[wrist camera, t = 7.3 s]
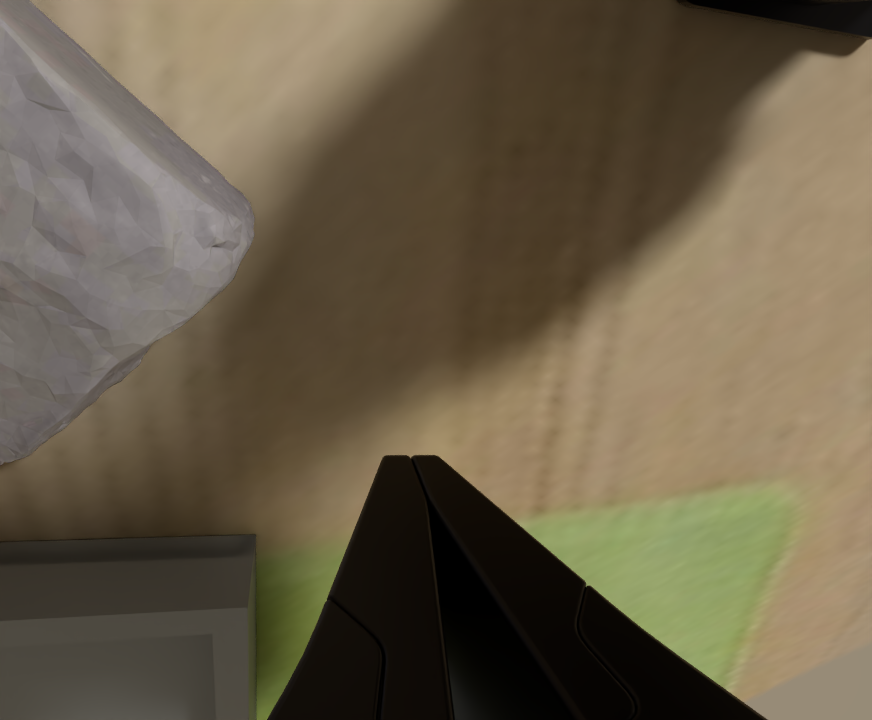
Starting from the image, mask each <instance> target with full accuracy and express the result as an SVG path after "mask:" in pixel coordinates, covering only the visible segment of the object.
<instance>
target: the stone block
mask: <svg viewBox="0 0 872 720" xmlns="http://www.w3.org/2000/svg"><path fill="white" fill-rule="evenodd" d="M254 220H255V217H254V214H253V211H252V208H251V205H250V202H249V201H248V200H247V199H246V198H245V196H244V195H243V194H242V193H241V192H240V191H239V190H237V189H236V188H235V187H234V186H232V185H231V184H230V183H229V182H228V181H227V180H226V179H225V178H224V177H223V176H222V175H221V174H220V173H219V172H218V171H217V170H216V169H215V168H214V167H213V166H212V165H211V164H209V163H208V162H207V161H206V160H205V159H204V158H203V157H202V156H200V155H199V154H198V153H197V152H196V151H195V150H194V149H192V148H191V147H190V146H189V145H188V144H186V143H185V142H184V141H183V140H182V139H181V138H180V137H178V136H177V135H176V134H175V133H174V132H173V131H172V130H171V129H170V128H169V127H168V126H167V125H166V124H165V123H164V122H163V121H162V120H161V119H160V118H159V117H157V116H156V115H155V114H154V113H153V112H152V111H151V110H149V109H148V108H147V107H146V106H145V105H144V104H143V103H142V102H140V101H139V100H138V99H137V98H136V97H135V96H134V95H132V94H131V93H130V92H129V91H128V90H127V89H126V88H125V87H123V86H122V85H121V84H120V83H119V82H118V81H117V80H116V79H115V78H114V77H112V76H111V75H110V74H109V73H108V72H107V71H106V70H105V69H104V68H103V67H102V66H101V65H100V64H99V63H98V62H96V61H95V60H94V59H93V58H92V57H91V56H90V55H89V54H88V53H87V52H86V51H85V50H84V49H83V48H82V47H80V46H79V45H78V44H77V43H76V42H75V41H74V40H73V39H71V38H70V37H69V36H68V35H67V34H66V33H65V32H63V31H62V30H61V29H60V28H59V27H58V26H57V25H56V24H55V23H53V22H52V21H51V20H50V19H49V18H48V17H47V16H46V15H45V14H44V13H42V12H41V11H40V10H39V9H38V8H37V7H36V6H35V5H34V4H33V3H32V2H31V1H29V0H0V465H3V463H4V462H7V463H10V462H12V461H15V460H18V459H22V458H24V457H27V456H29V455H30V454H31V453H33V452H34V451H35V450H36V449H37V448H38V447H39V446H40V445H41V444H43V443H45V442H46V441H47V440H48V439H50V438H51V437H52V436H54V435H55V434H56V433H58V432H60V431H62V430H63V429H64V428H65V427H67V426H68V425H69V424H70V423H71V422H72V421H73V420H74V419H75V418H76V417H77V416H78V415H79V414H80V413H81V412H82V411H83V410H84V409H85V408H87V407H88V406H90V405H91V404H93V403H94V402H95V401H96V400H97V399H98V398H99V396H100V395H101V394H102V393H103V392H104V391H105V390H106V389H108V388H109V387H111V386H112V385H114V384H116V383H118V382H120V381H122V380H123V379H124V378H125V377H126V376H127V375H128V374H129V373H130V372H131V371H132V370H133V369H135V368H136V367H137V366H139V364H140V363H141V360H142V358H143V356H144V355H145V353H146V352H147V351H148V349H149V347H150V345H151V344H152V343H153V342H155V341H157V340H159V339H160V338H162V337H164V336H166V335H167V334H169V333H171V332H173V331H174V330H176V329H178V328H179V327H181V326H182V325H184V324H185V323H186V322H187V321H189V320H190V319H191V318H192V317H193V316H194V315H195V314H196V313H197V312H199V311H200V310H201V309H202V308H203V307H204V306H205V305H206V304H208V303H209V302H210V301H211V300H212V299H213V298H214V297H215V296H217V295H218V294H219V293H220V292H222V291H223V290H224V289H225V288H226V286H227V285H228V284H229V283H230V282H231V281H232V280H233V279H234V277H235V274H236V272H237V270H238V267H239V265H240V262H241V260H242V259H243V257H244V256H245V254H246V253H247V251H248V249H249V247H250V245H251V243H252V240H253V238H254V235H255V234H254V231H253V228H254Z"/></svg>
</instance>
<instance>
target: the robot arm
mask: <svg viewBox="0 0 872 720" xmlns="http://www.w3.org/2000/svg"><path fill="white" fill-rule="evenodd" d="M677 1H678V2H679V3H680V4H682V5H684V6H688V7H693V8H699V9H704V10H710V11H715V12H720V13H726V14H731V15H737V16H742V17H748V18H753V19H759V20H764V21H770V22H775V23H781V24H786V25H792V26H797V27H802V28H808V29H813V30H819V31H824V32H830V33H835V34H841V35H846V36H852V37H857V38H863V39H872V0H677ZM267 720H767V719H766V718H764V717H763V716H762V715H760V714H759V713H757V712H756V711H755V710H753V709H752V708H750V707H749V706H748V705H746V704H745V703H744V702H742V701H741V700H739V699H738V698H737V697H735V696H734V695H732V694H731V693H730V692H728V691H727V690H725V689H724V688H723V687H721V686H720V685H719V684H717V683H716V682H714V681H713V680H712V679H710V678H709V677H707V676H706V675H705V674H703V673H702V672H700V671H699V670H698V669H696V668H695V667H694V666H692V665H691V664H689V663H688V662H687V661H685V660H684V659H682V658H681V657H680V656H678V655H677V654H676V653H674V652H673V651H672V650H670V649H669V648H668V647H666V646H665V645H664V644H662V643H661V642H660V641H658V640H657V639H656V638H654V637H653V636H652V635H650V634H649V633H648V632H646V631H645V630H644V629H642V628H641V627H640V626H638V625H637V624H636V623H635V622H634V621H632V620H631V619H630V618H629V617H627V616H626V615H625V614H624V613H622V612H621V611H620V610H619V609H618V608H616V607H615V606H614V605H613V604H611V603H610V602H609V601H608V600H607V599H605V598H604V597H603V596H602V595H601V594H600V593H598V592H597V591H596V590H595V589H594V588H593V587H591V586H586V582H585V581H584V580H583V579H582V578H581V577H579V576H578V575H577V574H576V573H575V572H574V571H572V570H571V569H570V568H569V567H568V566H567V565H565V564H564V563H563V562H562V561H561V560H559V559H558V558H557V557H556V556H555V555H554V554H552V553H551V552H550V551H549V550H548V549H547V548H545V547H544V546H543V545H542V544H541V543H540V542H538V541H537V540H536V539H535V538H534V537H533V536H531V535H530V534H529V533H528V532H527V531H525V530H524V529H523V528H522V527H521V526H520V525H518V524H517V523H516V522H515V521H514V520H513V519H511V518H510V517H509V516H508V515H507V514H506V513H504V512H503V511H502V510H501V509H500V508H499V507H497V506H496V505H495V504H494V503H493V502H492V501H490V500H489V499H488V498H487V497H486V496H484V495H483V494H482V493H481V492H480V491H479V490H477V489H476V488H475V487H474V486H473V485H472V484H470V483H469V482H468V481H467V480H466V479H465V478H463V477H462V476H461V475H460V474H459V473H458V472H456V471H455V470H454V469H453V468H452V467H450V466H449V465H448V464H447V463H446V462H445V461H443V460H442V459H441V458H440V457H438V456H436V455H414V456H412V457H411V458H410V457H409V456H407V455H386V456H384V457H383V458H382V460H381V463H380V465H379V468H378V470H377V473H376V475H375V478H374V481H373V483H372V486H371V488H370V491H369V493H368V496H367V498H366V501H365V503H364V506H363V509H362V511H361V514H360V516H359V519H358V521H357V524H356V526H355V529H354V531H353V534H352V536H351V539H350V542H349V544H348V547H347V549H346V552H345V554H344V557H343V559H342V562H341V564H340V567H339V570H338V572H337V575H336V577H335V580H334V582H333V585H332V587H331V590H330V592H329V595H328V598H327V601H326V602H325V604H324V607H323V609H322V612H321V614H320V617H319V619H318V622H317V624H316V626H315V629H314V631H313V633H312V635H311V638H310V640H309V642H308V644H307V647H306V649H305V651H304V653H303V656H302V658H301V659H300V661H299V663H298V665H297V667H296V669H295V671H294V673H293V674H292V676H291V678H290V680H289V682H288V684H287V686H286V688H285V689H284V691H283V693H282V695H281V696H280V698H279V700H278V702H277V703H276V705H275V707H274V708H273V710H272V712H271V714H270V715H269V717H268V719H267Z"/></svg>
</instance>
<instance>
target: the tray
mask: <svg viewBox="0 0 872 720" xmlns="http://www.w3.org/2000/svg"><path fill="white" fill-rule="evenodd" d="M0 720H256V535H227V536H194V537H160V538H127V539H94V540H60V541H27V542H0Z"/></svg>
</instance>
